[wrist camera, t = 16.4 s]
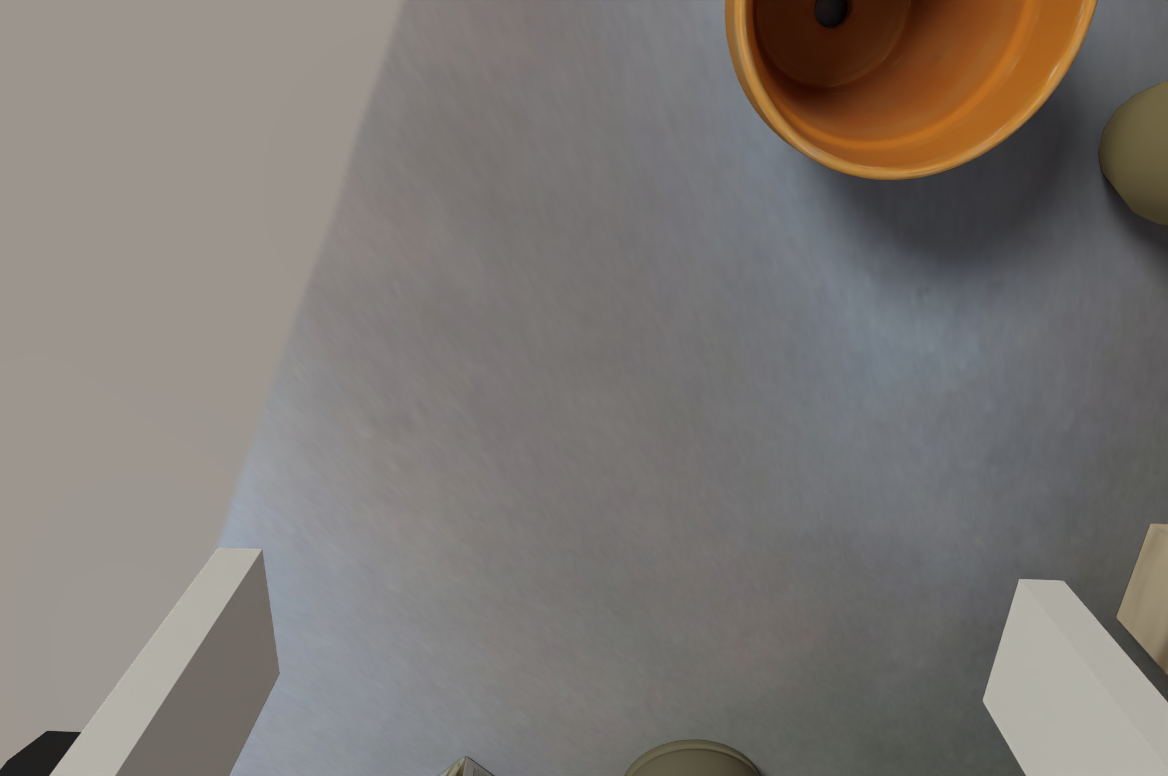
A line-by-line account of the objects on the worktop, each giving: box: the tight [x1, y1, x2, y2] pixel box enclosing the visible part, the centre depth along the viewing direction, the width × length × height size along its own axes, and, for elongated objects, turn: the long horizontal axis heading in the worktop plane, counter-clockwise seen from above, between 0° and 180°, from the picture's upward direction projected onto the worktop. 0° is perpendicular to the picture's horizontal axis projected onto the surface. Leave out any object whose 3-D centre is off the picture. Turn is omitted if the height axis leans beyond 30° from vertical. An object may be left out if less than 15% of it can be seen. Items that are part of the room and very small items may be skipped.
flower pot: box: [725, 0, 1098, 180], centre depth 38 cm, size 14×14×13 cm
